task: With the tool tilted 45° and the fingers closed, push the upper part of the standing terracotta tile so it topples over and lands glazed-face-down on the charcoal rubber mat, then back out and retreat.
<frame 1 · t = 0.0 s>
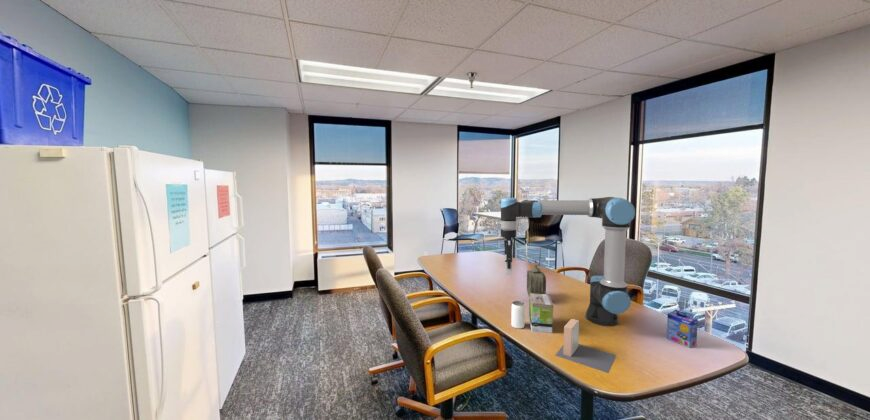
hand: (507, 271, 162), 28 cm above the table, tool pointing down, fingers open, 13 cm apart
mat: (585, 356, 135), on the table
tea box: (540, 327, 163), on the table
ink cartridge box: (680, 342, 146), on the table
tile: (570, 350, 139), point 1 cm above the table, touching mat
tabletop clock: (535, 300, 198), on the table
can: (517, 326, 163), on the table
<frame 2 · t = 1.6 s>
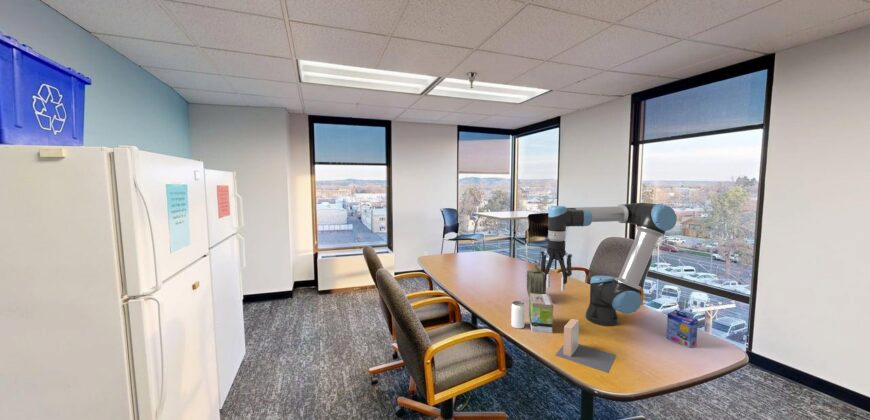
hand: (555, 288, 151), 23 cm above the table, tool pointing down, fingers open, 6 cm apart
nothing on the table moved.
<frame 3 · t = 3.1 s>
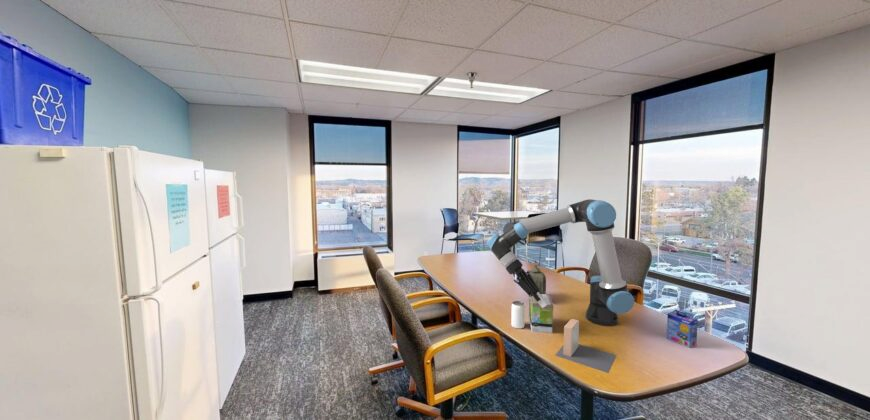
hand: (545, 306, 144), 17 cm above the table, tool tilted 45°, fingers closed
nothing on the table moved.
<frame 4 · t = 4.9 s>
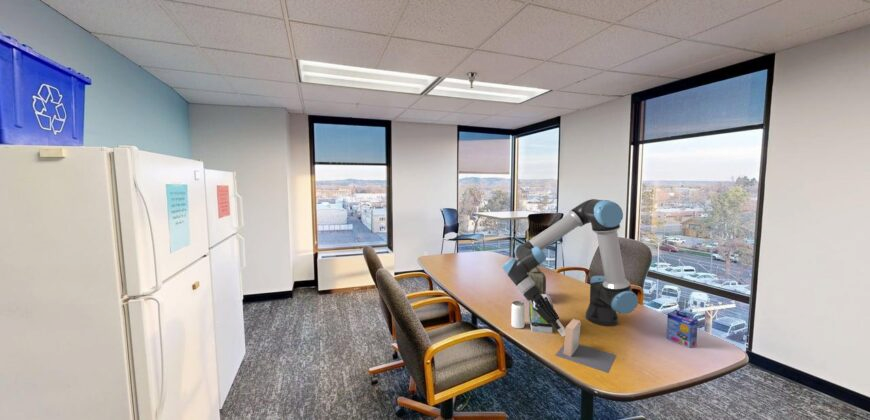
hand: (565, 334, 139), 7 cm above the table, tool tilted 45°, fingers closed
nothing on the table moved.
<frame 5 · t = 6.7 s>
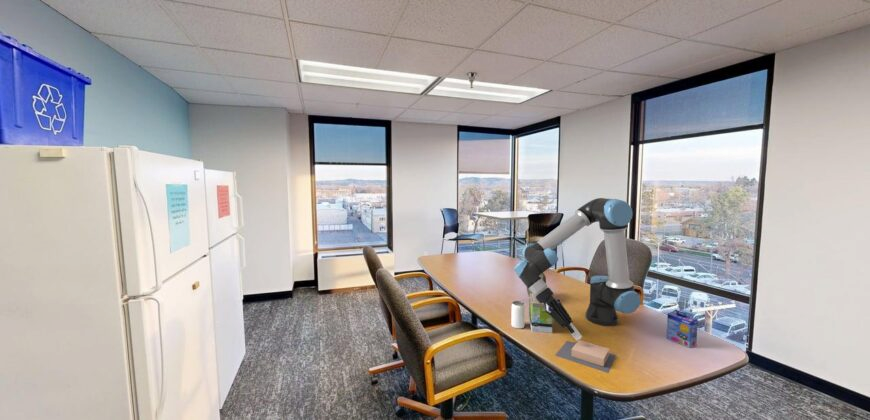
hand: (579, 338, 136), 7 cm above the table, tool tilted 45°, fingers closed
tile: (575, 347, 137), point 2 cm above the table, tilted 90°, touching mat
everything else where it was.
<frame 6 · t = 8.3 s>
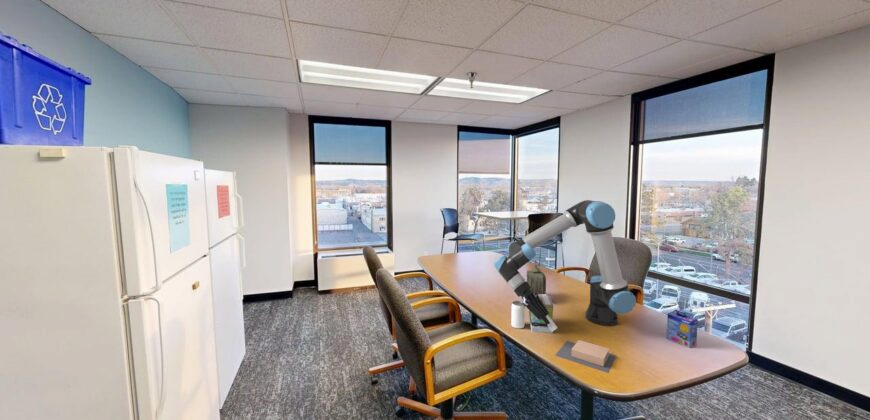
hand: (554, 329, 142), 8 cm above the table, tool tilted 45°, fingers closed
nothing on the table moved.
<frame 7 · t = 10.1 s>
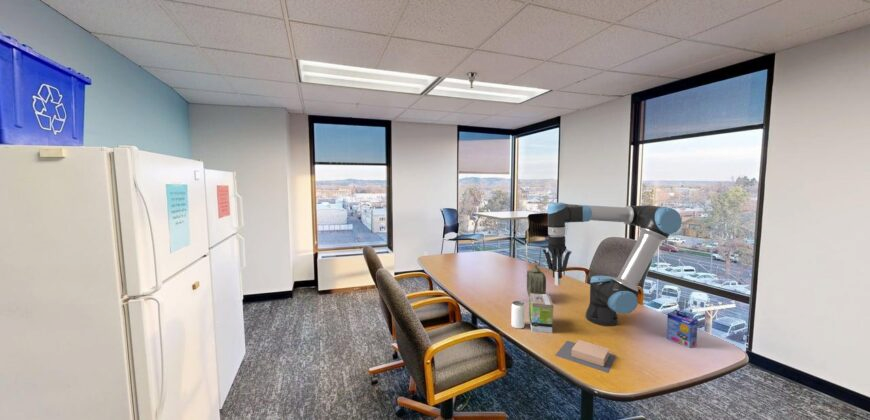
hand: (557, 284, 154), 24 cm above the table, tool pointing down, fingers closed
nothing on the table moved.
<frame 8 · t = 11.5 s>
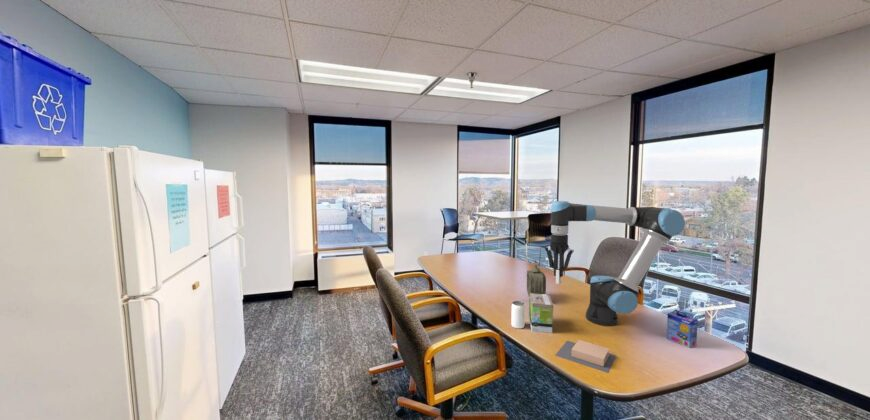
hand: (558, 282, 154), 24 cm above the table, tool pointing down, fingers closed
nothing on the table moved.
at the end: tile tilted 90°; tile inside the target area on the mat (4.3 cm from its centre), point 2.4 cm above the mat's base; the gripper is holding nothing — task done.
